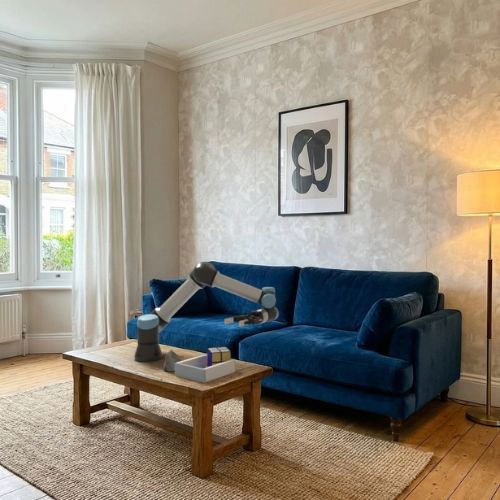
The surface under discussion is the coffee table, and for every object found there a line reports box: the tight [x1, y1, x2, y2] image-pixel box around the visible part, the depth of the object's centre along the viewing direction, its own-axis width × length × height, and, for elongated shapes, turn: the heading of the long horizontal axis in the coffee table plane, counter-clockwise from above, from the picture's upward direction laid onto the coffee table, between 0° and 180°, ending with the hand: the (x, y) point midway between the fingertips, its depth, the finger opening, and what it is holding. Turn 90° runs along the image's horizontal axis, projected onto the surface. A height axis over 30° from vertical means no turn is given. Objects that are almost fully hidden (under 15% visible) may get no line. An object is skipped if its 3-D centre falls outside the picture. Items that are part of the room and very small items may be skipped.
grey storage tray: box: [174, 353, 236, 383], centre depth 239 cm, size 22×20×6 cm
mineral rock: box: [162, 349, 180, 373], centre depth 249 cm, size 13×11×10 cm
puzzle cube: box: [206, 346, 232, 368], centre depth 247 cm, size 10×10×10 cm
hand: (232, 322), depth 255 cm, fingers open, 9 cm apart
